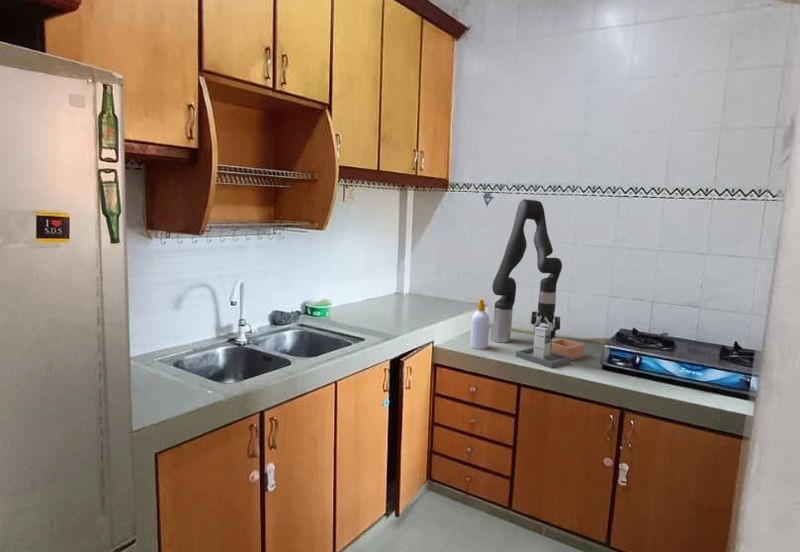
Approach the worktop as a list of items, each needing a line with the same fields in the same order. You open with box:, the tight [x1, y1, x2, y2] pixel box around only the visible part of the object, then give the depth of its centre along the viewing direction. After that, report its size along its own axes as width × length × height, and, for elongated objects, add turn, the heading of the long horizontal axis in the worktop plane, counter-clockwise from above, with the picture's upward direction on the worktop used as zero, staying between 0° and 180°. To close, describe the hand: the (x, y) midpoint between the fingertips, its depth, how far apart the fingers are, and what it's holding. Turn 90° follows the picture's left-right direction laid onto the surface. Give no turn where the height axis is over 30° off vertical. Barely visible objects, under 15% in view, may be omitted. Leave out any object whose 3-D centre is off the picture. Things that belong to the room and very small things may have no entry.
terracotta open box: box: [551, 338, 585, 361], centre depth 248 cm, size 12×12×6 cm
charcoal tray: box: [515, 346, 572, 369], centre depth 240 cm, size 20×14×3 cm
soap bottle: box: [469, 297, 490, 350], centre depth 257 cm, size 9×9×24 cm
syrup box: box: [533, 325, 553, 359], centre depth 239 cm, size 6×6×14 cm
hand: (544, 336), depth 238 cm, fingers open, 8 cm apart
